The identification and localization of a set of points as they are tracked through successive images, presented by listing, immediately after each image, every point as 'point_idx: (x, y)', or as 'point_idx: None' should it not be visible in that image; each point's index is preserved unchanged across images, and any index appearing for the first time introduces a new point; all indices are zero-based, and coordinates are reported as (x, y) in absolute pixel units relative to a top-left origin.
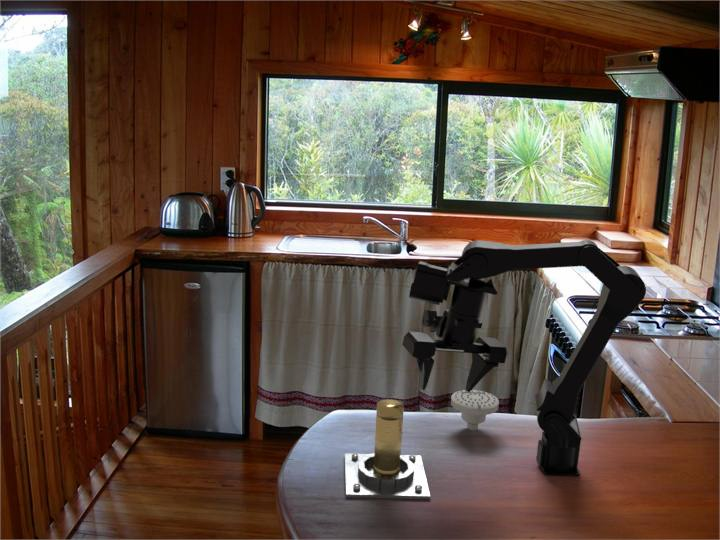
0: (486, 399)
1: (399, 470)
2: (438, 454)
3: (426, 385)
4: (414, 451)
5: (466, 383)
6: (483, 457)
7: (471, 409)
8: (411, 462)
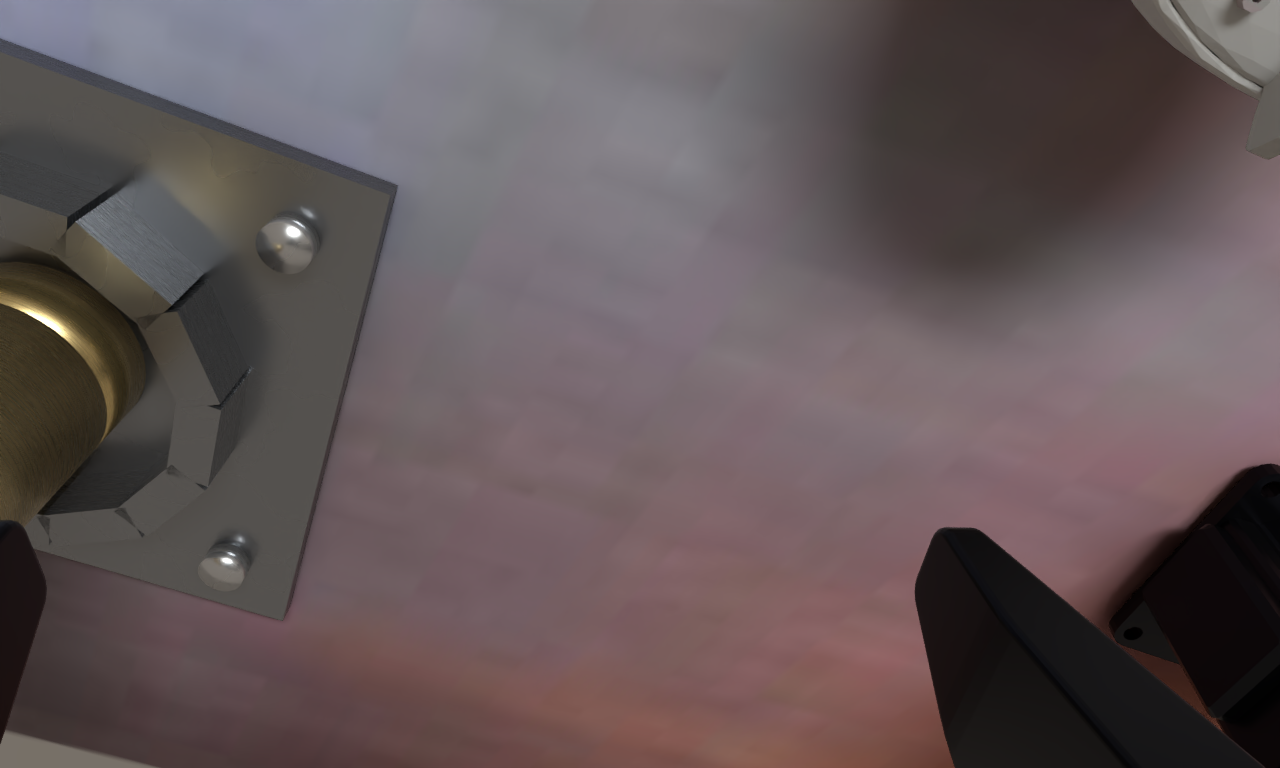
0: None
1: (117, 422)
2: (574, 171)
3: (3, 718)
4: (387, 53)
5: (985, 598)
6: (899, 327)
7: (1176, 42)
8: (211, 404)
